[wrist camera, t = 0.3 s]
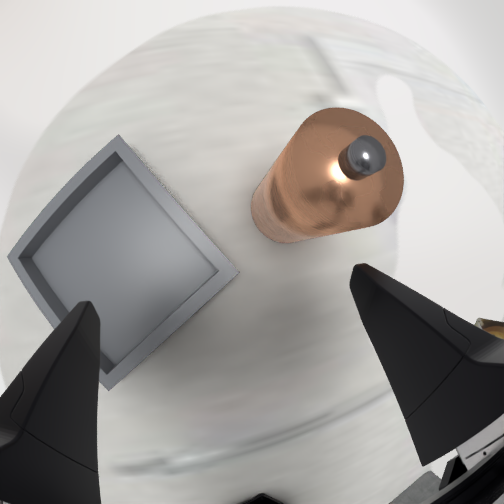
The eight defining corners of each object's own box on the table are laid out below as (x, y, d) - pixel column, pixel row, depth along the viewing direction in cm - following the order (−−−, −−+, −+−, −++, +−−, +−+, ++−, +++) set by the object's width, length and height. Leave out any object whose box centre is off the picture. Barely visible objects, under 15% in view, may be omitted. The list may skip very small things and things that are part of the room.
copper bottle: (330, 212, 24) (439, 171, 11) (283, 257, 24) (373, 255, 10) (286, 162, 24) (360, 74, 11) (236, 204, 23) (271, 135, 10)
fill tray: (235, 270, 23) (239, 272, 20) (118, 377, 21) (108, 391, 18) (128, 147, 22) (118, 134, 19) (25, 257, 20) (6, 256, 17)
